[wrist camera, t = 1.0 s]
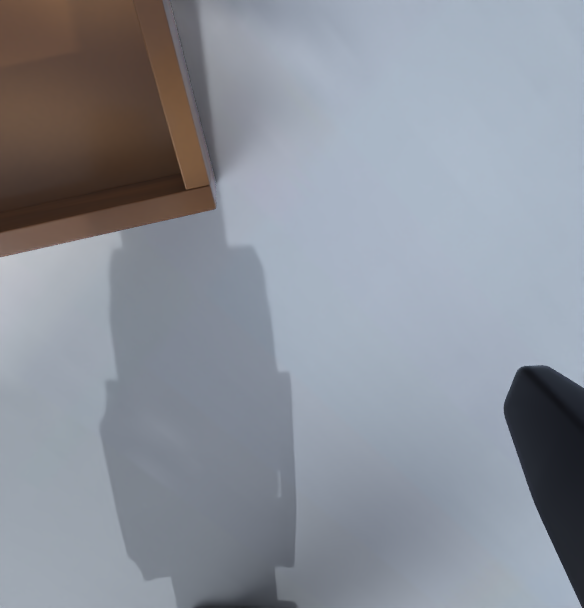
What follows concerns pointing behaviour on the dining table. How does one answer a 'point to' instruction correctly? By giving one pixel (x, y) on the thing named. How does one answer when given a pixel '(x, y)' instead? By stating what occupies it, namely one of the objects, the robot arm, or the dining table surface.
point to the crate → (95, 122)
